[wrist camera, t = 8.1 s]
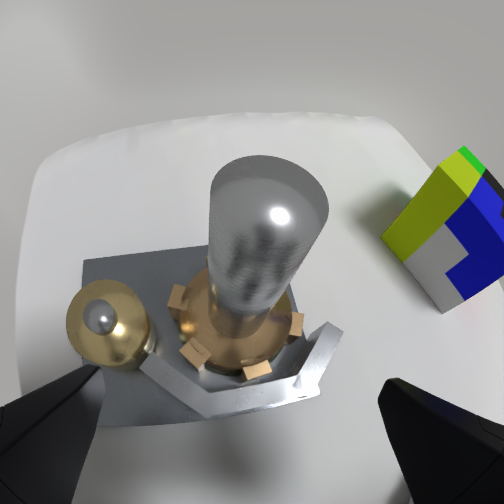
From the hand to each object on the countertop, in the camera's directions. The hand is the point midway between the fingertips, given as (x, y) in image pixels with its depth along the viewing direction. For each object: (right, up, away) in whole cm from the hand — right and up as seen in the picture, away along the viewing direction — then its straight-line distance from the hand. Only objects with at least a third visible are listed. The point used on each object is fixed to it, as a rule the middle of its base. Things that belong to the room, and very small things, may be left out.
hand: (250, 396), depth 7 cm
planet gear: (-1, 0, +10) cm, 10 cm away
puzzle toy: (+19, +4, +18) cm, 27 cm away
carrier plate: (-4, -1, +11) cm, 11 cm away
